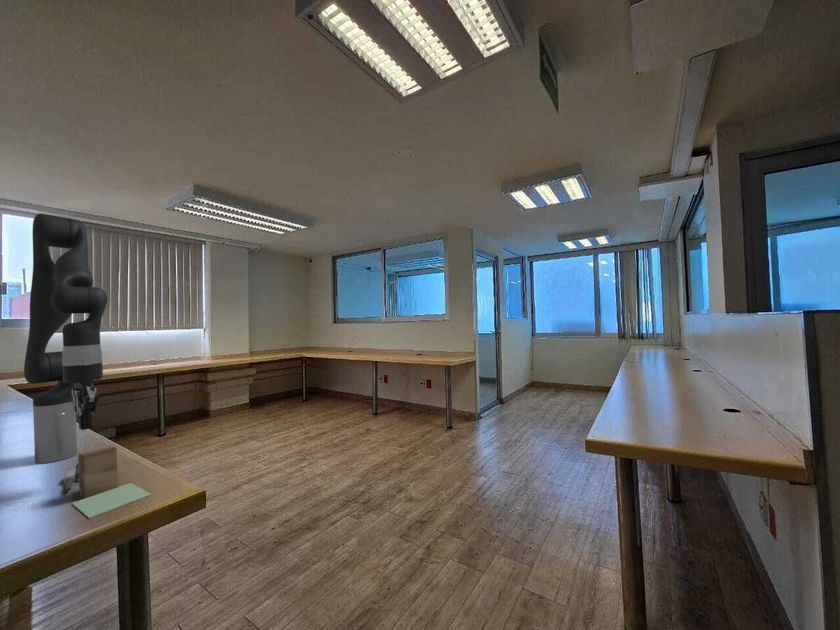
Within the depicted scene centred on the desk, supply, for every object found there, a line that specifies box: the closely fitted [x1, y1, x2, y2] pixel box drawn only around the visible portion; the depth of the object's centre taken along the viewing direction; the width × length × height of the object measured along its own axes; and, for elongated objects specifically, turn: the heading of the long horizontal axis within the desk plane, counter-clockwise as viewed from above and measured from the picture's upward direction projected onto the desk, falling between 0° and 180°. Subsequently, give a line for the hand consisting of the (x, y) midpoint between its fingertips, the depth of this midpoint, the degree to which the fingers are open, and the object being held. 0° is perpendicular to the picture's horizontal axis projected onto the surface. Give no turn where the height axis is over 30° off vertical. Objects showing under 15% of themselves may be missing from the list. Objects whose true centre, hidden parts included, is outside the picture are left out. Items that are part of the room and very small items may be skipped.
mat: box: [71, 482, 152, 519], centre depth 82 cm, size 12×11×1 cm
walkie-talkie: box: [63, 462, 79, 492], centre depth 95 cm, size 9×4×20 cm
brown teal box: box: [77, 444, 119, 499], centre depth 87 cm, size 5×6×10 cm
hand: (85, 428), depth 91 cm, fingers closed
